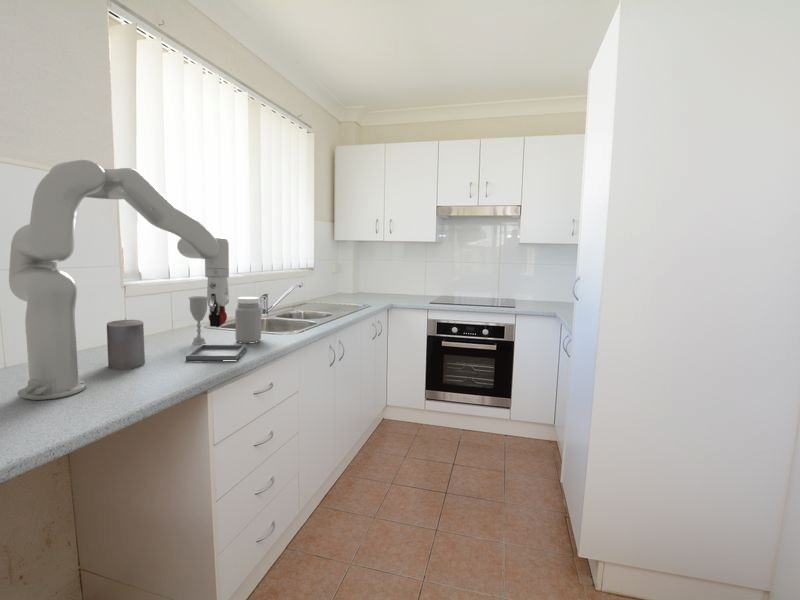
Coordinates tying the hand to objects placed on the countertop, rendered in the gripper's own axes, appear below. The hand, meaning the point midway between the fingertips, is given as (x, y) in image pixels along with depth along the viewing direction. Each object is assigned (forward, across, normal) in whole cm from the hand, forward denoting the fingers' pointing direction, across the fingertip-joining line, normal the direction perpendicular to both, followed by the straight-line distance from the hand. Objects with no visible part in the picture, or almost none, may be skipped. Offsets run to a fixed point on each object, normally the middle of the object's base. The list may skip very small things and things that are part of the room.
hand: (217, 324), depth 144 cm
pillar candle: (+11, -12, +24) cm, 29 cm away
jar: (+12, +22, -6) cm, 25 cm away
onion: (+1, 0, 0) cm, 1 cm away
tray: (+11, 0, 0) cm, 11 cm away
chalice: (+11, +19, +12) cm, 25 cm away
